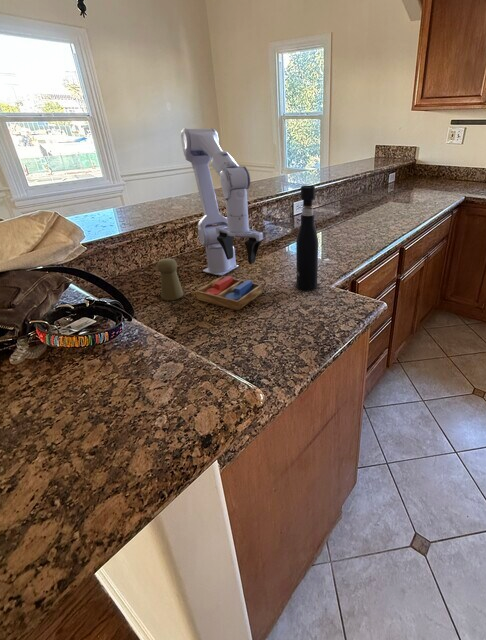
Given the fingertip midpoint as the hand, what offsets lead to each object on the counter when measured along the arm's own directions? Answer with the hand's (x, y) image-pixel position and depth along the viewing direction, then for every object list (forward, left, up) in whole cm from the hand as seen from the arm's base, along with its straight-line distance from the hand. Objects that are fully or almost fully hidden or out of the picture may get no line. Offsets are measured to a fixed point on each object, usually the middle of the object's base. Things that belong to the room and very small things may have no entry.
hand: (240, 260), depth 101 cm
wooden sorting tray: (+5, -1, -10) cm, 11 cm away
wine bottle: (-11, +16, -10) cm, 22 cm away
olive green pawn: (+12, -16, -10) cm, 22 cm away
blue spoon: (+5, +2, -9) cm, 10 cm away
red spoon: (+5, -5, -9) cm, 11 cm away
